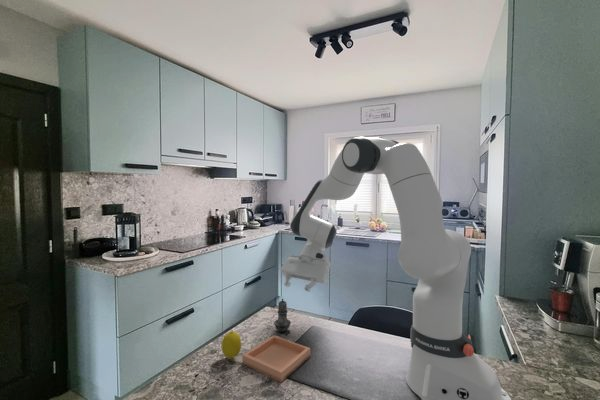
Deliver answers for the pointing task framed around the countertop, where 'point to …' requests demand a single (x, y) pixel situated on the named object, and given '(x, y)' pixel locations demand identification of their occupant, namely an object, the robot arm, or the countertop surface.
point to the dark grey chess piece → (282, 320)
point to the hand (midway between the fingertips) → (296, 288)
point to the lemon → (231, 344)
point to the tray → (276, 357)
